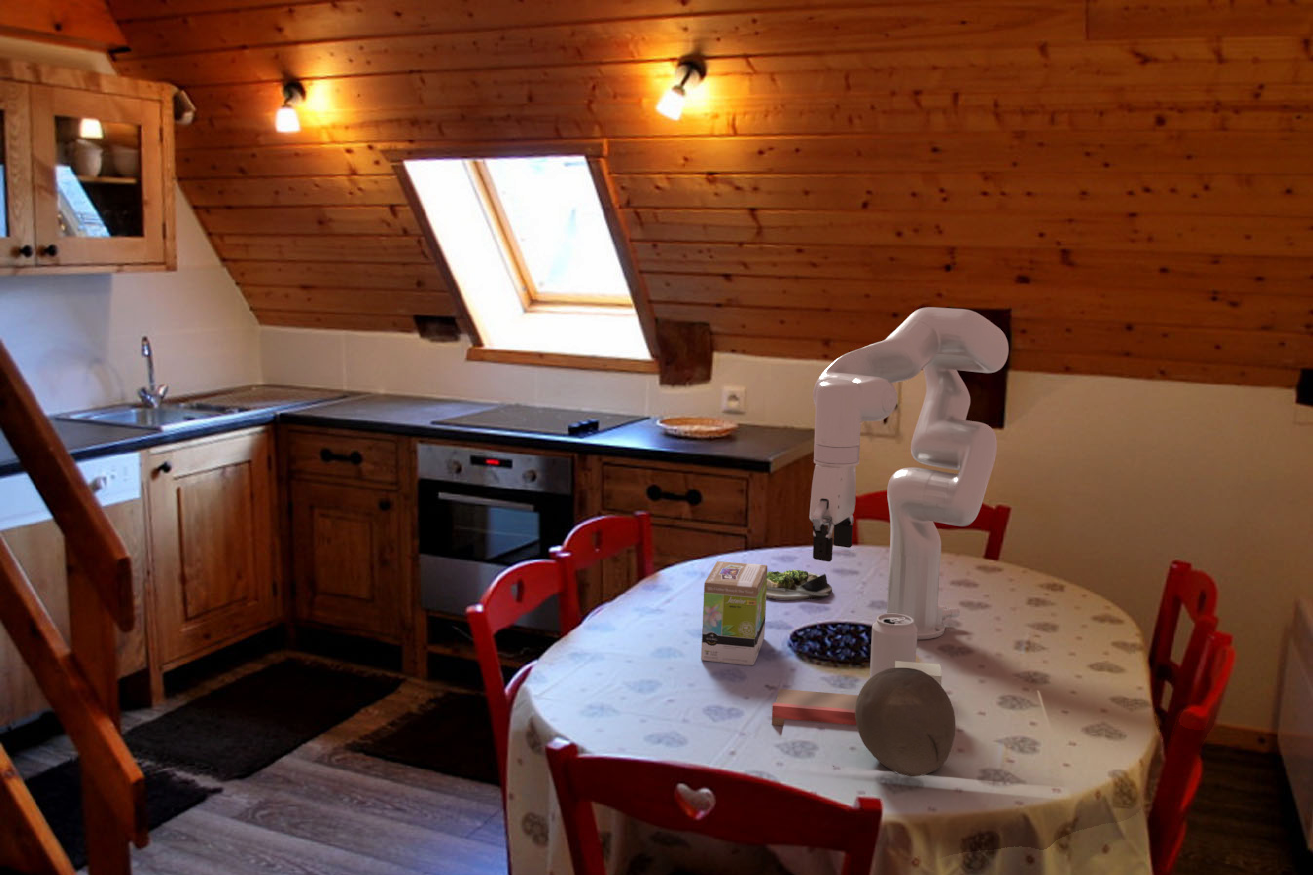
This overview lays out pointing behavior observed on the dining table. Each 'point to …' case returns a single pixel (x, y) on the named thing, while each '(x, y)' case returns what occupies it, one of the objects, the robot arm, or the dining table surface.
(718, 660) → the tea box
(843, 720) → the shelf board
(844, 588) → the dining table surface
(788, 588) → the salad plate
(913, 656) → the can
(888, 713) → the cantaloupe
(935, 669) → the cream rectangular block
